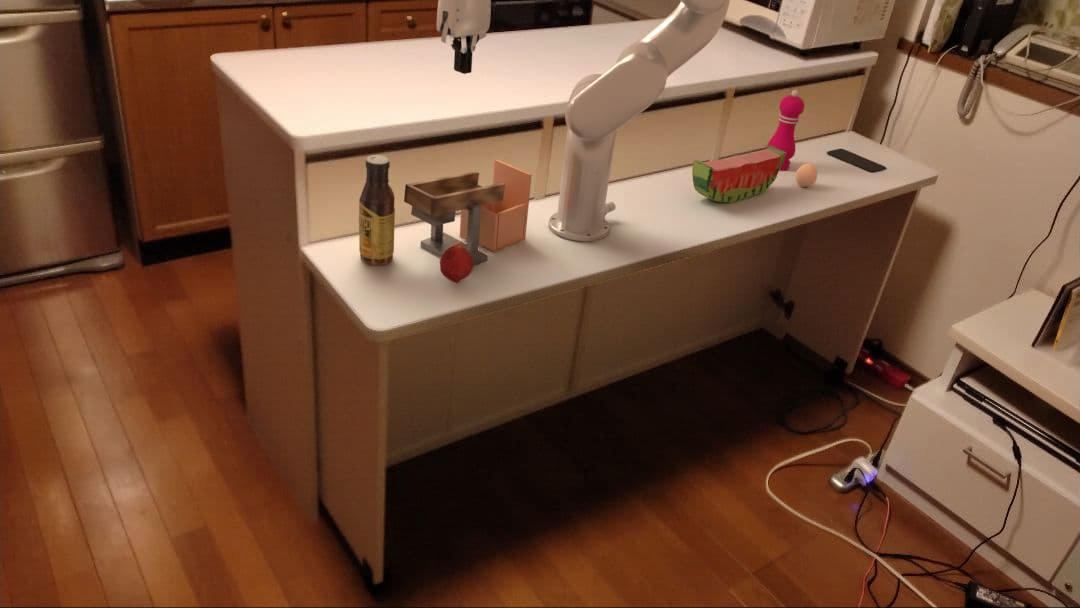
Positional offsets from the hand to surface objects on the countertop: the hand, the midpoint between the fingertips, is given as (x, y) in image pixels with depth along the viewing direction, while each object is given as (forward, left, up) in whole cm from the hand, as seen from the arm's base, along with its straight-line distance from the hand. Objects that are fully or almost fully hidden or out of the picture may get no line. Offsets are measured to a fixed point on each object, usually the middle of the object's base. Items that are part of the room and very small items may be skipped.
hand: (462, 71), depth 160 cm
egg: (-78, +42, -29) cm, 93 cm away
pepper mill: (-85, +31, -29) cm, 95 cm away
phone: (-108, +43, -30) cm, 120 cm away
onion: (+21, +22, -29) cm, 42 cm away
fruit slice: (-57, +34, -29) cm, 73 cm away
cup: (+3, +14, -29) cm, 32 cm away
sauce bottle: (+27, +7, -29) cm, 40 cm away
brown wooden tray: (+15, +12, -20) cm, 28 cm away
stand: (+14, +14, -29) cm, 35 cm away
